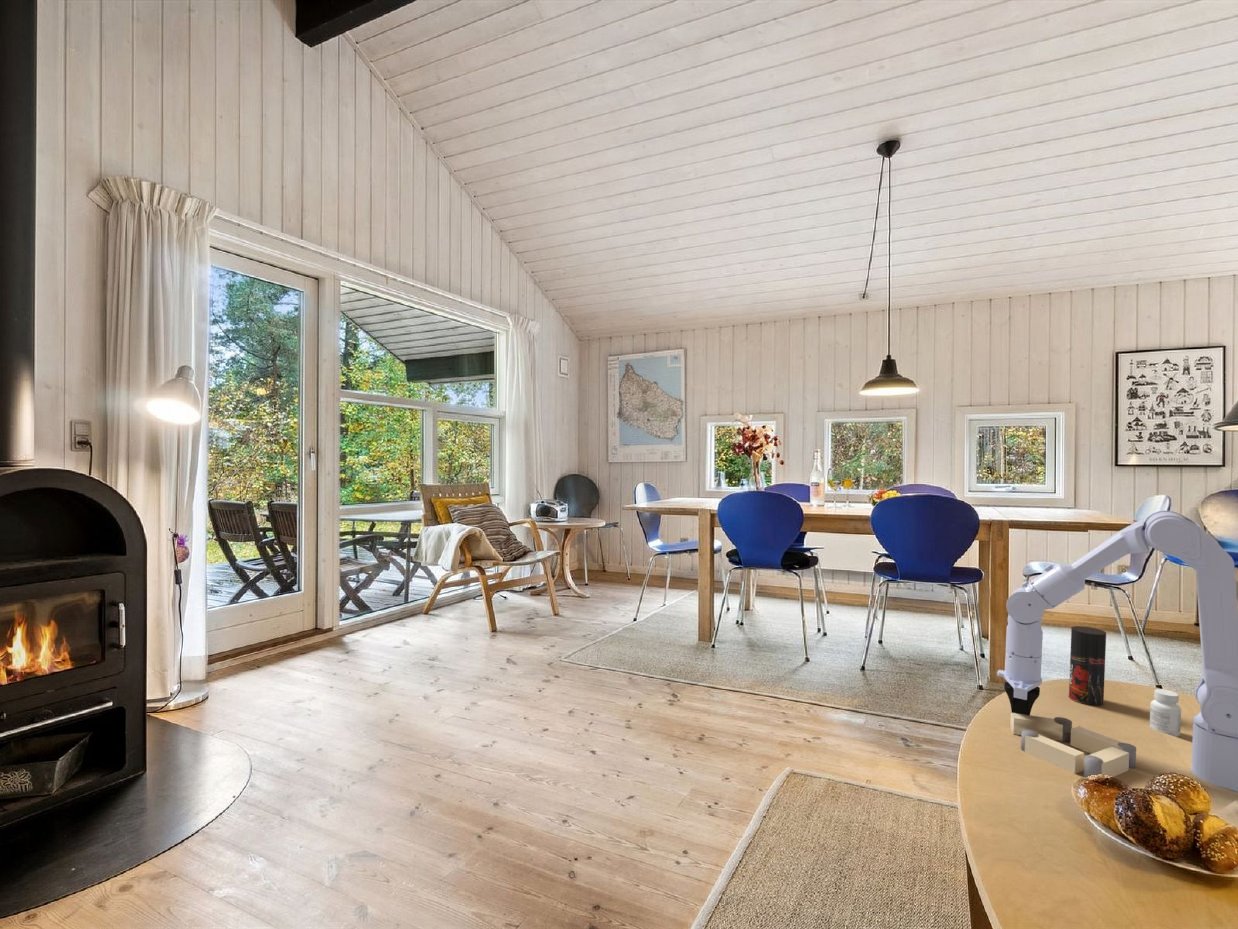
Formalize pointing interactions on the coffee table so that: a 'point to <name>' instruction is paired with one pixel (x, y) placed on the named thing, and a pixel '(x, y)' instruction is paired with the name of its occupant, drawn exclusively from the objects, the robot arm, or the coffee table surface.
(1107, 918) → the coffee table surface
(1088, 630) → the deodorant
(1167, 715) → the pill bottle
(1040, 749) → the hinged beam frame
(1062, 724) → the beige long rectangular block
